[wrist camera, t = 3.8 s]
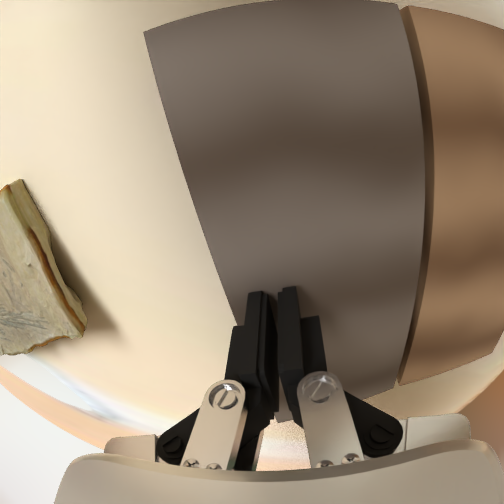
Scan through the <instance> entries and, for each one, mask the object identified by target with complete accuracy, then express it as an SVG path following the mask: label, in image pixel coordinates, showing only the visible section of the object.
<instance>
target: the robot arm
mask: <svg viewBox="0 0 504 504" xmlns="http://www.w3.org/2000/svg"><path fill="white" fill-rule="evenodd" d="M279 377H280V380H281V383H282V387H283V390H284V394H285V397H286V401H287V404H288V408H289V411H291V413H292V416H293V420H294V422H295V423H296V424H298V425H299V426H300V427H302V428H303V429H304V432H305V438H306V443H307V448H308V454H309V459H310V465H311V468H310V469H299V470H284V471H256V467H257V463H258V458H259V454H260V449H261V444H262V439H263V435H264V428H266V427H267V426H268V425H269V424H270V420H272V419H274V412H279ZM54 504H504V473H503V470H502V467H501V464H500V461H499V459H498V457H497V455H496V453H495V451H494V450H493V448H492V447H491V446H490V445H489V444H487V443H485V442H482V441H478V440H471V436H470V424H469V421H468V419H467V418H466V417H465V416H463V415H461V414H455V413H454V414H446V415H436V416H424V417H408V418H407V419H405V420H397V419H395V418H394V417H392V416H390V415H388V414H386V413H385V412H383V411H381V410H379V409H377V408H375V407H373V406H371V405H370V404H368V403H366V402H364V401H362V400H360V399H359V398H357V397H355V396H353V395H352V394H350V393H348V392H346V391H345V390H343V388H342V385H341V382H340V380H339V379H338V377H336V376H335V375H334V374H332V373H330V372H327V365H326V358H325V351H324V344H323V337H322V331H321V325H320V319H319V315H317V316H310V317H304V318H301V314H300V307H299V301H298V295H297V289H296V286H292V287H285V288H282V292H278V333H277V329H276V325H275V321H274V317H273V313H272V309H271V305H270V301H269V296H268V294H263V292H262V291H257V292H250V293H248V297H247V305H246V313H245V321H244V325H240V326H234V327H233V330H232V335H231V341H230V348H229V354H228V360H227V366H226V372H225V379H224V380H222V381H219V382H216V383H215V384H213V385H212V386H211V387H210V388H209V389H208V390H207V392H206V394H205V396H204V399H203V402H202V405H201V407H200V408H199V409H197V410H196V411H194V412H193V413H192V414H190V415H189V416H187V417H186V418H185V419H183V420H182V421H180V422H179V423H177V424H176V425H174V426H173V427H172V428H170V429H169V430H167V431H166V432H164V433H163V434H162V435H161V436H156V435H155V434H153V435H143V436H131V437H116V438H112V439H111V440H109V441H108V443H107V444H106V446H105V449H104V453H96V454H88V455H84V456H81V457H78V458H76V459H75V460H73V461H72V463H70V465H69V466H68V468H67V470H66V472H65V474H64V476H63V478H62V481H61V483H60V486H59V489H58V492H57V495H56V498H55V502H54Z"/></svg>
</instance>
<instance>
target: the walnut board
mask: <svg viewBox="0 0 504 504" xmlns="http://www.w3.org/2000/svg"><path fill="white" fill-rule="evenodd" d="M399 11H400V15H401V18H402V21H403V25H404V28H405V32H406V35H407V39H408V43H409V47H410V52H411V56H412V61H413V66H414V71H415V76H416V82H417V88H418V94H419V101H420V109H421V117H422V128H423V140H424V158H425V211H424V229H423V242H422V253H421V262H420V270H419V277H418V284H417V291H416V297H415V302H414V308H413V313H412V318H411V323H410V327H409V332H408V336H407V340H406V345H405V349H404V352H403V356H402V360H401V364H400V367H399V371H398V374H397V380H398V383H399V386H401V385H405V384H408V383H412V382H415V381H418V380H422V379H425V378H428V377H431V376H434V375H437V374H440V373H443V372H446V371H449V370H452V369H454V368H457V367H460V366H462V365H465V364H467V363H470V362H472V361H475V360H477V359H479V358H482V357H484V356H486V355H489V354H491V353H492V352H493V350H494V348H495V346H496V344H497V342H498V340H499V338H500V337H501V335H502V332H503V330H504V30H503V29H500V28H497V27H495V26H492V25H489V24H486V23H483V22H480V21H477V20H474V19H470V18H467V17H463V16H459V15H455V14H451V13H447V12H442V11H438V10H433V9H427V8H421V7H415V6H406V7H404V8H402V9H401V10H399Z"/></svg>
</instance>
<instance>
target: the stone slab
mask: <svg viewBox="0 0 504 504" xmlns="http://www.w3.org/2000/svg"><path fill="white" fill-rule="evenodd" d="M82 304H83V303H82V302H81V300H80V299H79V298H78V296H77V295H76V293H75V292H74V291H73V289H71V288H69V287H68V286H66V285H65V284H64V281H63V279H62V277H61V275H60V273H59V270H58V268H57V266H56V264H55V259H54V257H53V254H52V252H51V237H50V232H49V230H48V228H47V226H46V224H45V222H44V220H43V218H42V216H41V215H40V213H39V211H38V209H37V207H36V205H35V203H34V202H33V200H32V198H31V196H30V195H29V193H28V191H27V190H26V188H25V185H24V183H23V181H22V179H18V180H16V181H14V182H13V183H11V184H10V185H6V186H5V187H4V188H3V189H2V190H0V355H4V354H8V355H17V354H21V353H24V354H27V353H29V352H31V351H32V350H33V349H34V348H35V347H36V346H39V347H40V346H44V345H47V344H48V342H51V341H54V340H56V339H59V338H64V337H67V338H71V340H72V339H73V338H75V337H78V338H82V337H83V333H84V331H85V329H86V326H87V318H86V316H85V314H84V312H83V310H82Z"/></svg>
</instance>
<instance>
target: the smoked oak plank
mask: <svg viewBox="0 0 504 504" xmlns="http://www.w3.org/2000/svg"><path fill="white" fill-rule="evenodd" d="M144 36H145V40H146V44H147V48H148V52H149V56H150V60H151V64H152V67H153V71H154V75H155V79H156V82H157V86H158V89H159V93H160V97H161V100H162V104H163V107H164V110H165V114H166V117H167V121H168V124H169V127H170V131H171V134H172V137H173V141H174V144H175V147H176V150H177V154H178V157H179V160H180V163H181V166H182V170H183V173H184V176H185V179H186V182H187V185H188V188H189V191H190V194H191V197H192V200H193V203H194V206H195V209H196V212H197V215H198V218H199V221H200V224H201V227H202V230H203V233H204V235H205V238H206V241H207V244H208V247H209V250H210V253H211V255H212V258H213V261H214V264H215V266H216V269H217V272H218V275H219V277H220V280H221V283H222V286H223V288H224V291H225V294H226V296H227V299H228V302H229V304H230V307H231V310H232V312H233V315H234V317H235V320H236V323H237V325H238V326H240V325H244V321H245V313H246V305H247V297H248V293H250V292H257V291H262V292H263V294H268V296H269V301H270V305H271V309H272V313H273V317H274V321H275V325H276V329H277V333H278V292H282V288H285V287H292V286H296V289H297V295H298V301H299V307H300V314H301V318H304V317H310V316H317V315H319V319H320V325H321V331H322V337H323V344H324V351H325V358H326V365H327V372H330V373H332V374H334V375H335V376H336V377H338V379H339V380H340V382H341V385H342V388H343V390H345V391H346V392H348V393H350V394H352V395H353V396H355V397H357V398H359V399H360V400H363V399H366V398H368V397H371V396H374V395H376V394H379V393H382V392H384V391H387V390H389V389H392V388H393V387H394V384H395V381H396V377H397V374H398V371H399V367H400V364H401V360H402V356H403V352H404V349H405V345H406V340H407V336H408V332H409V327H410V323H411V318H412V313H413V308H414V302H415V297H416V291H417V284H418V277H419V270H420V262H421V253H422V242H423V229H424V211H425V158H424V140H423V128H422V117H421V109H420V101H419V94H418V88H417V82H416V76H415V71H414V66H413V61H412V56H411V52H410V47H409V43H408V39H407V35H406V32H405V28H404V25H403V21H402V18H401V15H400V11H399V8H398V5H397V4H394V3H387V2H380V1H371V0H274V1H265V2H258V3H251V4H244V5H238V6H233V7H228V8H223V9H218V10H214V11H209V12H205V13H201V14H197V15H194V16H190V17H187V18H183V19H180V20H177V21H173V22H170V23H167V24H164V25H161V26H159V27H156V28H153V29H150V30H148V31H145V32H144ZM274 415H275V418H276V420H277V422H278V423H281V422H285V421H290V420H293V416H292V413H291V411H289V408H288V404H287V401H286V397H285V394H284V390H283V387H282V383H281V380H280V377H279V412H274Z"/></svg>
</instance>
